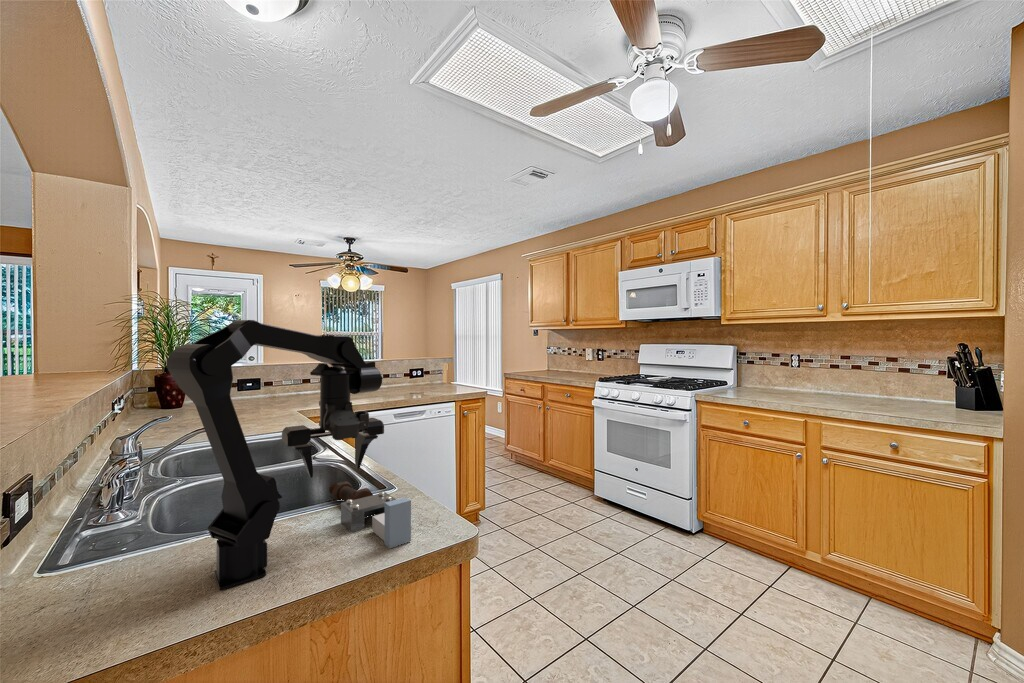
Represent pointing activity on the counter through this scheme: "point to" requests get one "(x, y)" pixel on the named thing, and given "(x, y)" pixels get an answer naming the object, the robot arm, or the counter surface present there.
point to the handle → (394, 523)
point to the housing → (363, 510)
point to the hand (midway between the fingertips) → (334, 472)
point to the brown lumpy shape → (347, 491)
